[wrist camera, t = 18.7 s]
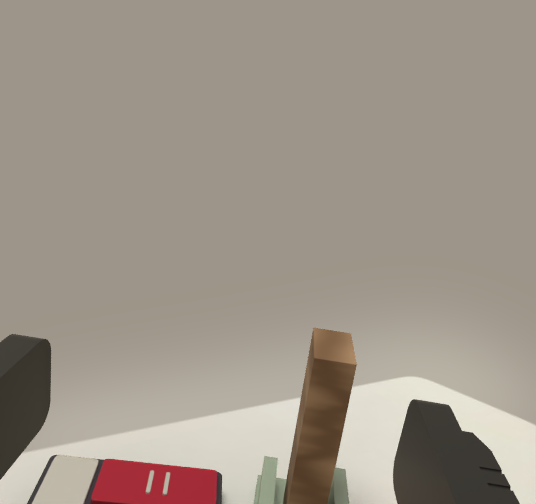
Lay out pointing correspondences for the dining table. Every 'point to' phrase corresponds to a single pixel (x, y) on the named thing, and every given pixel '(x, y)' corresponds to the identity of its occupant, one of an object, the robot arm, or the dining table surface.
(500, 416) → the dining table surface
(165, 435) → the dining table surface
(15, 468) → the dining table surface
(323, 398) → the tall board
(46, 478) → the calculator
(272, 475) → the board holder
